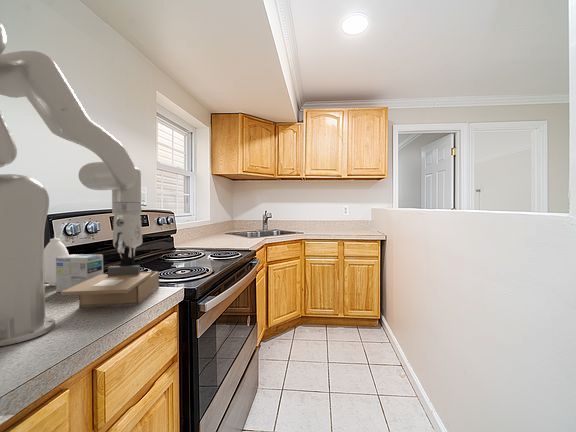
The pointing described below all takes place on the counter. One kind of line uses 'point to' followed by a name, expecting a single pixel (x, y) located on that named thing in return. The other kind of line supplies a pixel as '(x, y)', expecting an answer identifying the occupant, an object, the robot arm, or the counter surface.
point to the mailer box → (122, 295)
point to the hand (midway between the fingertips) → (127, 270)
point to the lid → (110, 281)
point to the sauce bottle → (53, 258)
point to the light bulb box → (76, 269)
